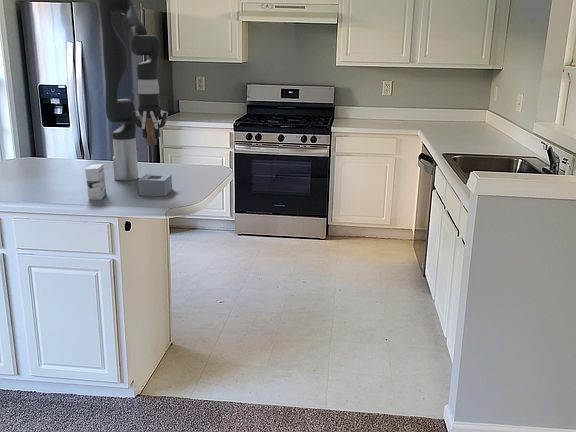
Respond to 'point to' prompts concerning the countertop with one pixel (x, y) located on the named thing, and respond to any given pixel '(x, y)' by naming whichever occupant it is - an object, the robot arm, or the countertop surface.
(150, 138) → the walnut dowel
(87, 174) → the ink box
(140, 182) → the socket block
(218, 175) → the countertop surface
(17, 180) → the countertop surface
